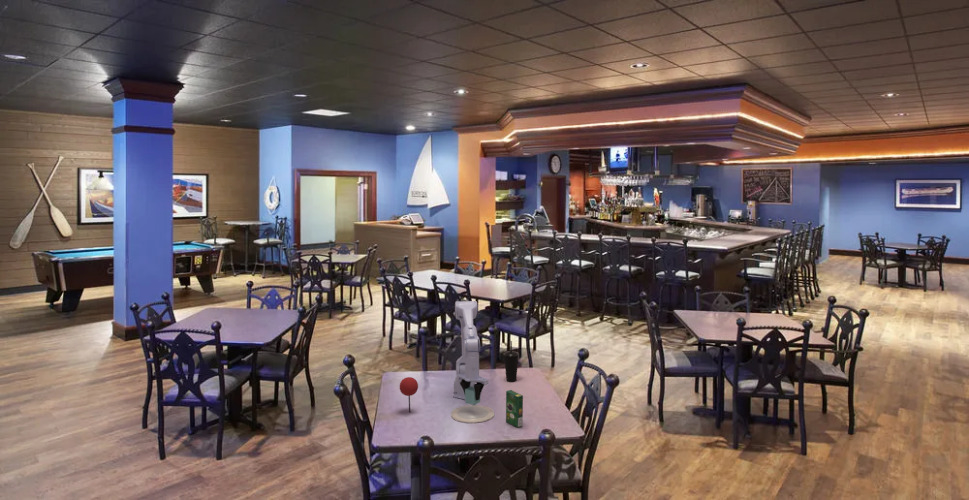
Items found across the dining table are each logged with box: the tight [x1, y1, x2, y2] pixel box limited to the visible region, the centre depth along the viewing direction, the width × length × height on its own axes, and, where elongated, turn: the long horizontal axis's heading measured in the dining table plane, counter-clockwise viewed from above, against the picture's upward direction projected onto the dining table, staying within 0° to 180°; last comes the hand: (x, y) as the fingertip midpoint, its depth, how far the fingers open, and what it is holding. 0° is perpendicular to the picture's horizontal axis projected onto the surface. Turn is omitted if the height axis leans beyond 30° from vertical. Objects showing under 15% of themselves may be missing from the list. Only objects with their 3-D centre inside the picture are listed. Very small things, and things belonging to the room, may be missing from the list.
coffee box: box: [505, 389, 524, 429], centre depth 234 cm, size 8×3×13 cm, turn 35°
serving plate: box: [450, 404, 495, 424], centre depth 245 cm, size 18×18×1 cm
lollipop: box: [399, 376, 419, 413], centre depth 249 cm, size 8×8×15 cm
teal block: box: [464, 386, 481, 405], centre depth 245 cm, size 4×4×6 cm
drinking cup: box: [502, 340, 520, 383], centre depth 288 cm, size 8×8×20 cm
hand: (472, 398), depth 245 cm, fingers closed on teal block, 4 cm apart
